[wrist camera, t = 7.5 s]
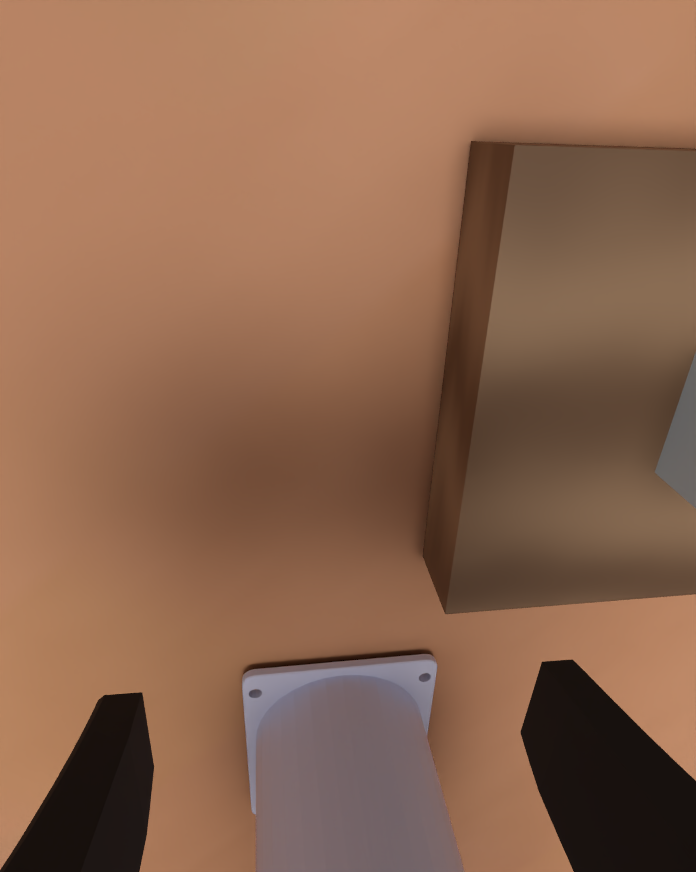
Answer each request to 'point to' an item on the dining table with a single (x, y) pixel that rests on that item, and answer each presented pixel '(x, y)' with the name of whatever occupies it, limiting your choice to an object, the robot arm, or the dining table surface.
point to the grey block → (682, 444)
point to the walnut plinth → (565, 380)
